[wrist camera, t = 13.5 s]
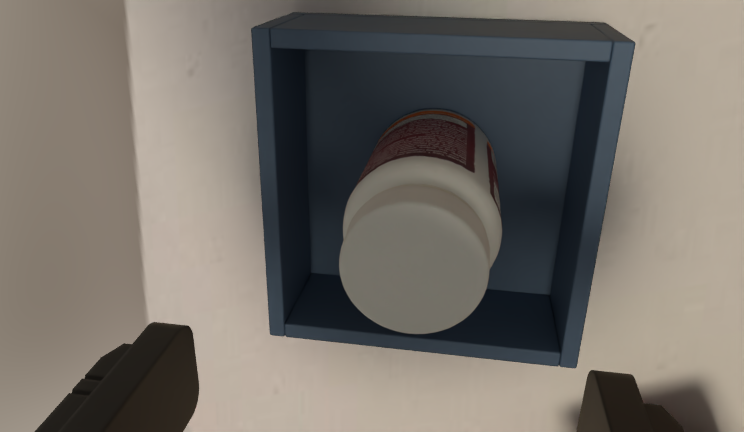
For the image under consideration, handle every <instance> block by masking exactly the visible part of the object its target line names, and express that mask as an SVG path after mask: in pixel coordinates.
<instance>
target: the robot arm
mask: <svg viewBox="0 0 744 432" xmlns="http://www.w3.org/2000/svg"><path fill="white" fill-rule="evenodd" d="M198 395H199V381H198V372H197V364H196V356H195V348H194V339H193V333H192V330H191V328H190V327H189V326H185V325H176V324H167V323H157V322H153V323H151V324H149V325H148V326H147V327H146V329H145V330H144V331H143V332H142V333H141V335H140V336H139V337H138V338H137V339H136V341H135V342H134V343H133V344H122V345H121V346H119V347H118V348H116V349H115V350H113V351H111V352H109V353H108V354H106V355H105V356H103V357H101V358H100V360H99V361H98V362H97V363H96V364H95V365H94V366H93V367H92V368H91V369H90V371H89V372H88V373H87V374H86V375H85V379H81V381H80V382H79V383H78V384H77V385H76V386H75V387H74V388H73V390H72V393H71V394H70V393H69V394H68V395H67V396H66V397H65V398H64V400H63V401H62V402H61V403H60V404H59V405H58V406H57V407H56V408H55V410H54V411H53V412H52V413H51V414H50V415H49V417H47V419H46V420H45V421H44V422H43V423H42V424H41V425H40V426H39V427H38V429H37V430H36V431H35V432H183V431H184V429H185V428H186V426H187V424H188V422H189V421H190V419H191V417H192V416H193V414H194V411H195V408H196V405H197V401H198ZM577 432H684V430H683V428H682V426H681V425H680V424H679V423H678V422H677V421H676V420H675V419H674V418H673V417H672V416H671V415H670V414H669V413H668V412H667V410H666V409H665V408H664V407H663V406H662V405H654V404H645V403H643V401H642V398H641V395H640V392H639V389H638V387H637V384H636V381H635V379H634V377H633V375H631V374H622V373H613V372H604V371H594V370H591V371H590V372H589V374H588V377H587V381H586V386H585V391H584V396H583V401H582V406H581V412H580V417H579V422H578V427H577Z"/></svg>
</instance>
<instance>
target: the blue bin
mask: <svg viewBox="0 0 744 432" xmlns="http://www.w3.org/2000/svg"><path fill="white" fill-rule="evenodd" d="M251 33H252V50H253V66H254V82H255V99H256V115H257V131H258V147H259V164H260V180H261V196H262V212H263V229H264V245H265V261H266V277H267V294H268V310H269V326H270V335H275V336H286V337H293V338H303V339H312V340H321V341H330V342H339V343H348V344H357V345H366V346H376V347H385V348H394V349H403V350H412V351H421V352H430V353H439V354H448V355H458V356H467V357H476V358H485V359H494V360H503V361H512V362H521V363H531V364H540V365H549V366H558V365H559V366H560V367H567V368H576V367H577V362H578V356H579V351H580V345H581V340H582V334H583V329H584V323H585V318H586V312H587V307H588V301H589V296H590V290H591V285H592V279H593V274H594V268H595V263H596V257H597V252H598V246H599V241H600V235H601V230H602V224H603V219H604V213H605V208H606V202H607V197H608V191H609V186H610V180H611V175H612V169H613V164H614V158H615V153H616V147H617V142H618V136H619V131H620V125H621V120H622V114H623V109H624V103H625V98H626V92H627V87H628V81H629V76H630V70H631V65H632V59H633V54H634V48H635V42H634V41H632V40H631V39H629V38H628V37H626V36H625V35H623V34H621V33H620V32H618V31H617V30H615V29H614V28H612V27H611V26H609V25H608V24H606V23H597V22H567V21H538V20H508V19H478V18H448V17H418V16H389V15H359V14H329V13H299V12H293V13H290V14H288V15H285V16H282V17H280V18H277V19H274V20H271V21H269V22H266V23H263V24H261V25H258V26H255V27H253V28H252V29H251ZM425 109H442V110H447V111H451V112H454V113H457V114H460V115H462V116H464V117H466V118H467V119H469V120H471V121H472V122H473V123H474V124H476V125H477V126H478V127H479V128H480V129H481V131H482V132H483V133H484V134H485V135H486V137H487V138H488V140H489V142H490V144H491V146H492V148H493V151H494V155H495V159H496V166H497V175H498V186H499V198H500V212H501V220H502V239H501V245H500V249H499V252H498V255H497V257H496V259H495V261H494V263H493V265H492V267H491V268H490V270H489V280H488V285H487V288H486V291H485V294H484V296H483V298H482V299H481V301H480V303H479V304H478V306H477V307H476V308H475V310H474V311H473V312H472V313H471V314H470V315H469V316H468V317H467V318H465V319H464V320H463V321H461V322H460V323H458V324H456V325H454V326H452V327H450V328H448V329H445V330H442V331H438V332H434V333H427V334H409V333H402V332H397V331H394V330H391V329H388V328H385V327H383V326H381V325H379V324H377V323H375V322H374V321H372V320H371V319H369V318H368V317H366V316H365V315H364V314H363V313H362V312H361V311H360V310H359V309H357V307H356V306H355V305H354V304H353V303H352V301H351V300H350V298H349V297H348V295H347V293H346V291H345V289H344V287H343V284H342V280H341V277H340V271H339V257H340V251H341V246H342V244H343V241H344V238H343V220H344V214H345V209H346V205H347V202H348V199H349V197H350V195H351V193H352V192H353V190H354V188H355V186H356V185H357V182H358V181H359V178H360V176H361V174H362V172H363V171H364V168H365V166H366V165H367V163H368V161H369V158H370V156H371V155H372V153H373V150H374V148H375V147H376V145H377V143H378V141H379V139H380V137H381V136H382V134H383V133H384V132H385V131H386V130H387V128H388V127H390V126H391V125H392V124H393V123H394V122H395V121H397V120H398V119H400V118H402V117H403V116H405V115H408V114H410V113H413V112H416V111H419V110H425Z"/></svg>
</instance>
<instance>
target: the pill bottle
mask: <svg viewBox="0 0 744 432" xmlns="http://www.w3.org/2000/svg"><path fill="white" fill-rule="evenodd" d="M343 238H344V241H343V244H342V246H341V251H340V257H339V271H340V277H341V280H342V284H343V287H344V289H345V291H346V293H347V295H348V297H349V298H350V300H351V301H352V303H353V304H354V305H355V306H356V307H357V309H359V310H360V311H361V312H362V313H363V314H364V315H365V316H366V317H368V318H369V319H371V320H372V321H374V322H375V323H377V324H379V325H381V326H383V327H385V328H388V329H391V330H394V331H397V332H402V333H409V334H427V333H434V332H438V331H442V330H445V329H448V328H450V327H452V326H454V325H456V324H458V323H460V322H461V321H463V320H464V319H465V318H467V317H468V316H469V315H470V314H471V313H472V312H473V311H474V310H475V308H476V307H477V306H478V304H479V303H480V301H481V299H482V298H483V296H484V294H485V291H486V288H487V285H488V280H489V270H490V268H491V267H492V265H493V263H494V261H495V259H496V257H497V255H498V252H499V249H500V245H501V239H502V220H501V212H500V198H499V186H498V175H497V166H496V159H495V155H494V151H493V148H492V146H491V144H490V142H489V140H488V138H487V137H486V135H485V134H484V133H483V132H482V131H481V129H480V128H479V127H478V126H477V125H476V124H474V123H473V122H472V121H471V120H469V119H467V118H466V117H464V116H462V115H460V114H457V113H454V112H451V111H447V110H442V109H425V110H419V111H416V112H413V113H410V114H408V115H405V116H403V117H402V118H400V119H398V120H397V121H395V122H394V123H393V124H392V125H391V126H390V127H388V128H387V130H386V131H385V132H384V133H383V134H382V136H381V137H380V139H379V141H378V143H377V145H376V147H375V148H374V150H373V153H372V155H371V156H370V158H369V161H368V163H367V165H366V166H365V168H364V171H363V172H362V174H361V176H360V178H359V181H358V182H357V185H356V186H355V188H354V190H353V192H352V193H351V195H350V197H349V199H348V202H347V205H346V209H345V214H344V220H343Z"/></svg>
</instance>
